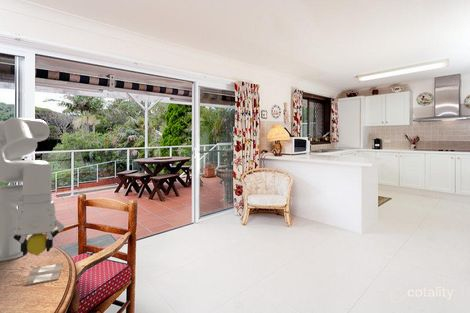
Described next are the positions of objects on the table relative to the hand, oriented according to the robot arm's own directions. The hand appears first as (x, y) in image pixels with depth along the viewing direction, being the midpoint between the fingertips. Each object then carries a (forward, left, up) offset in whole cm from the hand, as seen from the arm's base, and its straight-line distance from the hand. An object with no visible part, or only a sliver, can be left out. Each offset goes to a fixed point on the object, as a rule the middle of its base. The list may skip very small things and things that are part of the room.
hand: (37, 251), depth 82 cm
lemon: (0, 0, -2) cm, 2 cm away
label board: (-14, 0, -14) cm, 20 cm away
